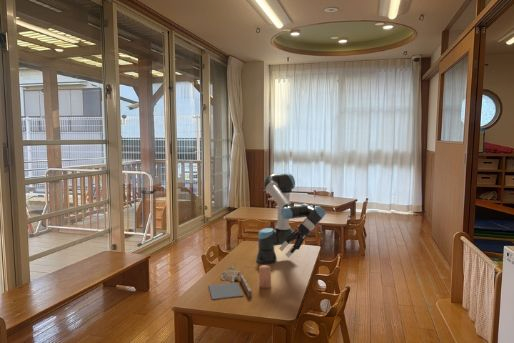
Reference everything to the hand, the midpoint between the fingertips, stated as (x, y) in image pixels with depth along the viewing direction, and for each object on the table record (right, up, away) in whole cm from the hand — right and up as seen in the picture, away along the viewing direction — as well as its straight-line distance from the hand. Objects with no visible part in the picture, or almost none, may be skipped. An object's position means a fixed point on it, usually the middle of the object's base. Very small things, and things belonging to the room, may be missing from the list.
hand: (283, 253), depth 226 cm
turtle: (-33, -20, +12) cm, 41 cm away
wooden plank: (-23, -21, -4) cm, 31 cm away
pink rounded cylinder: (-11, -20, 0) cm, 23 cm away
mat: (-35, -21, -7) cm, 42 cm away
